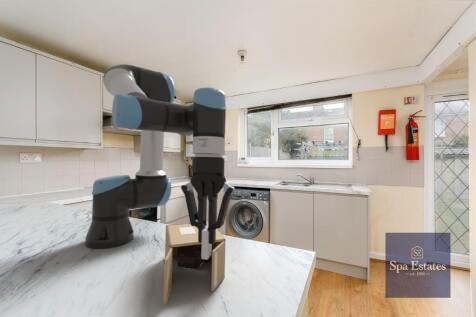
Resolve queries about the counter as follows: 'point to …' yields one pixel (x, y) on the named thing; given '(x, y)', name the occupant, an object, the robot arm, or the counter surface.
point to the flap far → (217, 265)
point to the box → (190, 256)
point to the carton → (187, 238)
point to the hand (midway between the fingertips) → (206, 256)
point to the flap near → (168, 275)
